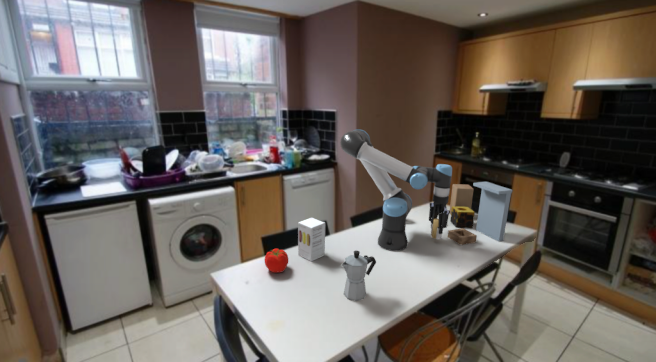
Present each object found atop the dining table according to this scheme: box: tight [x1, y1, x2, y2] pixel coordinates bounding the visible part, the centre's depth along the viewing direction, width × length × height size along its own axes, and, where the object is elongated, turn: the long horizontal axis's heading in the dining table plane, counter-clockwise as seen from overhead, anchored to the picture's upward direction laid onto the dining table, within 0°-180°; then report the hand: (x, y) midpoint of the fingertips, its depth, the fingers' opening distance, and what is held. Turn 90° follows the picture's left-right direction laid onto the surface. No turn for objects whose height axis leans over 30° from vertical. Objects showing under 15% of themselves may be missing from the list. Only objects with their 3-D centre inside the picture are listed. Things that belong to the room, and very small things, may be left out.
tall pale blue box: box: [473, 181, 513, 243], centre depth 171 cm, size 9×17×28 cm, turn 20°
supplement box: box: [297, 217, 326, 262], centre depth 150 cm, size 10×9×17 cm
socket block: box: [447, 228, 478, 246], centre depth 169 cm, size 10×10×4 cm
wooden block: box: [449, 183, 474, 215], centre depth 202 cm, size 10×10×20 cm
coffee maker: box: [340, 250, 377, 302], centre depth 120 cm, size 15×9×18 cm, turn 114°
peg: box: [431, 217, 439, 240], centre depth 166 cm, size 4×4×10 cm
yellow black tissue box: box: [450, 207, 476, 229], centre depth 189 cm, size 10×10×10 cm
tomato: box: [264, 248, 289, 274], centre depth 137 cm, size 11×11×9 cm
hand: (435, 236), depth 168 cm, fingers closed on peg, 4 cm apart
